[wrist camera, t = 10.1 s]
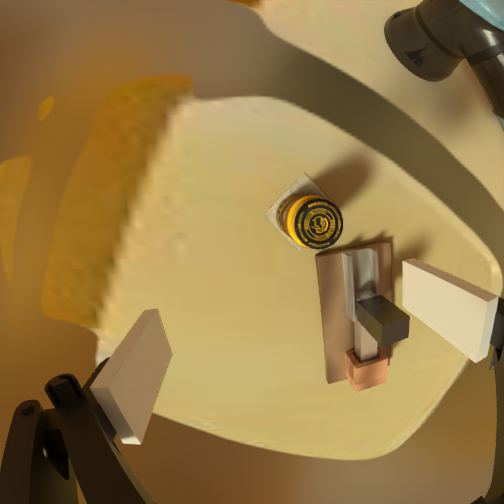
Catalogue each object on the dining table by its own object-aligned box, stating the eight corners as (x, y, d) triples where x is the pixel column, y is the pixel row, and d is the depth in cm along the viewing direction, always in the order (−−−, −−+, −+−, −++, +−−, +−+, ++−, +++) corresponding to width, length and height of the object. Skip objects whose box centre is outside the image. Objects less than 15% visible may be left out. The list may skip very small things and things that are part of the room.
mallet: (372, 288, 40) (409, 316, 29) (372, 362, 43) (400, 399, 32) (349, 294, 40) (381, 325, 29) (351, 369, 43) (376, 408, 32)
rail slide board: (385, 241, 41) (407, 249, 35) (385, 361, 46) (401, 380, 39) (314, 255, 41) (328, 266, 34) (326, 379, 46) (336, 401, 39)
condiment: (262, 215, 40) (273, 224, 28) (304, 173, 39) (331, 165, 27) (299, 250, 41) (322, 273, 29) (338, 209, 40) (376, 216, 28)
